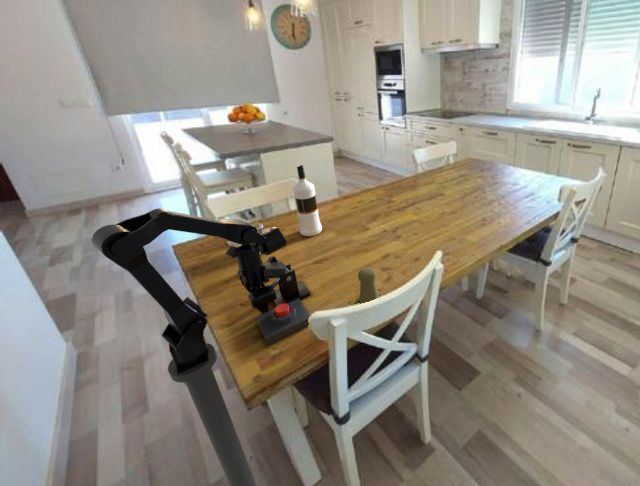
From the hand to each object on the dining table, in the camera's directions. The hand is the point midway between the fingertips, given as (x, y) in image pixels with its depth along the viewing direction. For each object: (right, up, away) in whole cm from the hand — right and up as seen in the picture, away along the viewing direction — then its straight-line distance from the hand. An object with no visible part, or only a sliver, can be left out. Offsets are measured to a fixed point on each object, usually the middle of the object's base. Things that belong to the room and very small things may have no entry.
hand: (262, 306), depth 95 cm
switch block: (+9, -2, -6) cm, 12 cm away
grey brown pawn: (+32, +1, +2) cm, 32 cm away
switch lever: (+4, +5, +1) cm, 7 cm away
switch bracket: (+7, +2, +5) cm, 8 cm away
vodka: (0, +18, +43) cm, 47 cm away
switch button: (+9, +1, -8) cm, 12 cm away
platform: (-23, +16, +39) cm, 48 cm away
